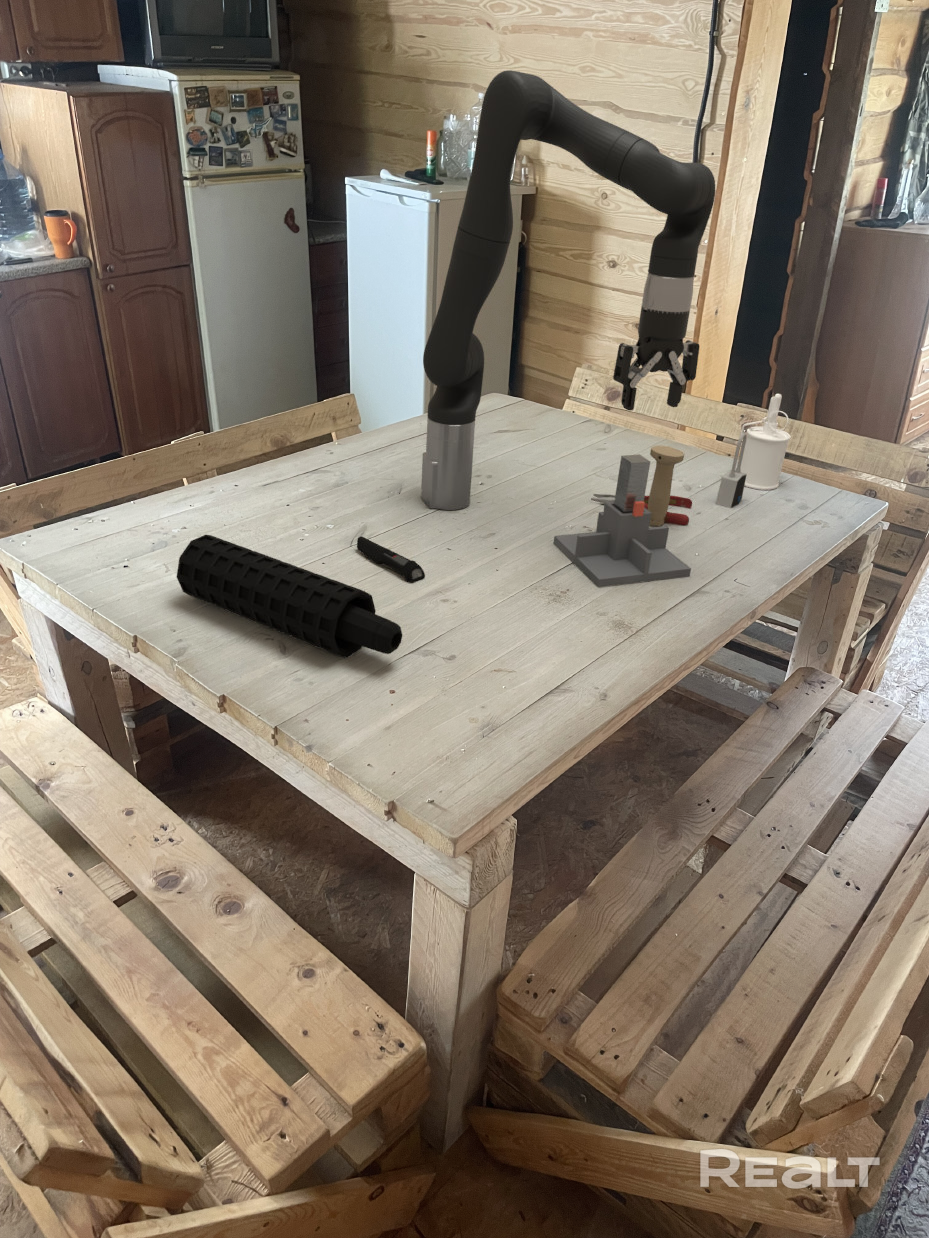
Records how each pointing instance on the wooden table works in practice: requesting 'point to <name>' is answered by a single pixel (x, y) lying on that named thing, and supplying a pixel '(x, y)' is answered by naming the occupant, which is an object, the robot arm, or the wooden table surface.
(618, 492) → the column
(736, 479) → the padlock
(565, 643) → the wooden table surface
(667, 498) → the handle
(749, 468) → the white oil can
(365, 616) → the roller
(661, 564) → the stand
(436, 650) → the wooden table surface
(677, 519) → the pliers
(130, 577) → the wooden table surface
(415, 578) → the electric trimmer
